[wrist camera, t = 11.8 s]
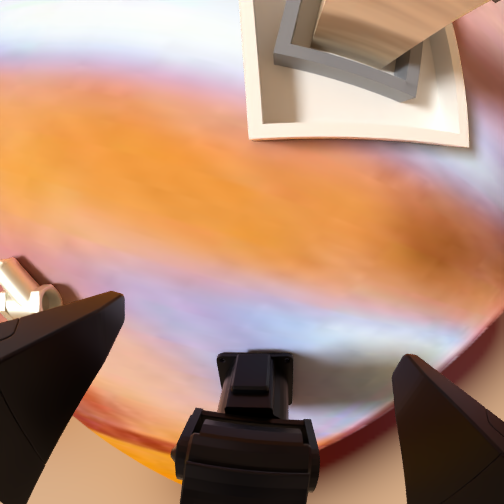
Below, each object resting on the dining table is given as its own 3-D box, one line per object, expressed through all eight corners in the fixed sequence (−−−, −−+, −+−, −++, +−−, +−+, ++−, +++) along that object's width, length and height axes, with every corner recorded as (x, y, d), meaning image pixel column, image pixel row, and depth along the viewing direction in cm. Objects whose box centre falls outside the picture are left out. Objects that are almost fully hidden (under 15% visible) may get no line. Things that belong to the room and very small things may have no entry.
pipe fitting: (7, 255, 24) (24, 311, 26) (-16, 265, 21) (3, 325, 22) (49, 247, 24) (67, 312, 25) (23, 258, 20) (45, 329, 21)
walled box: (443, 145, 17) (469, 147, 14) (253, 141, 19) (248, 139, 15) (411, -30, 12) (427, -48, 9) (239, -44, 13) (233, -68, 10)
